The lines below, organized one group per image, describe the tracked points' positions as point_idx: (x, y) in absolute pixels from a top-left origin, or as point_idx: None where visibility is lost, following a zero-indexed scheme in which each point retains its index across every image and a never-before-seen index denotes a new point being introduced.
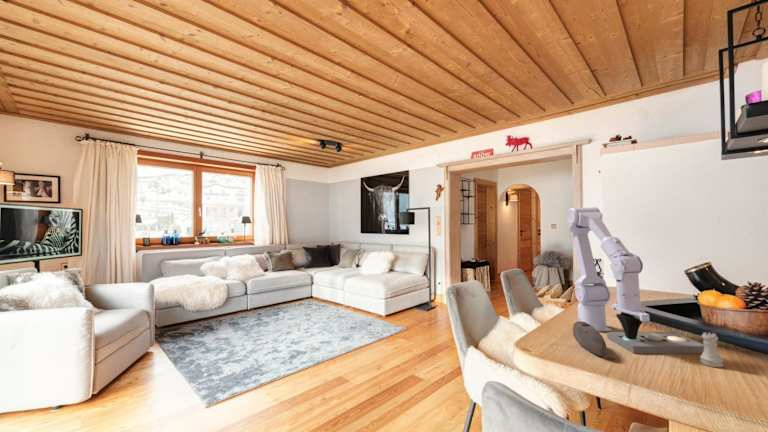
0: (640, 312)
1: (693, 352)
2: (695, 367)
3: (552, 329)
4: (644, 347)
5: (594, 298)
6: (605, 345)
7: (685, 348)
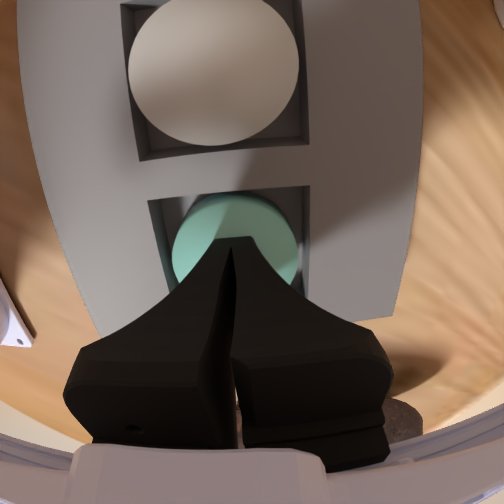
0: (491, 492)
1: None
2: None
3: (73, 425)
4: (402, 252)
5: None
6: (420, 429)
7: None
